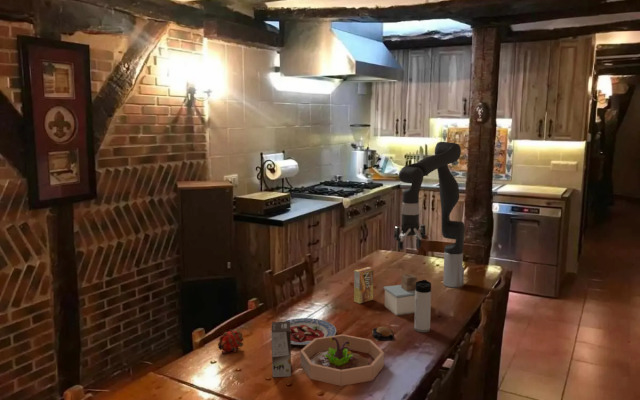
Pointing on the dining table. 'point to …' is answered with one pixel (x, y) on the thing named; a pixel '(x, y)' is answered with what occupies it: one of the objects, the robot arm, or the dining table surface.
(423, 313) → the travel mug
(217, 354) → the dining table surface
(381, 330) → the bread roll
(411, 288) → the walnut block
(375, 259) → the dining table surface
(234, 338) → the dragon fruit
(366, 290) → the candy box
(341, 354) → the plant
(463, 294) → the dining table surface
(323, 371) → the brown shallow octagonal piece
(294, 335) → the ceramic plate
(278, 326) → the coffee box
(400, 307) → the chest
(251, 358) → the dining table surface
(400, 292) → the lid
